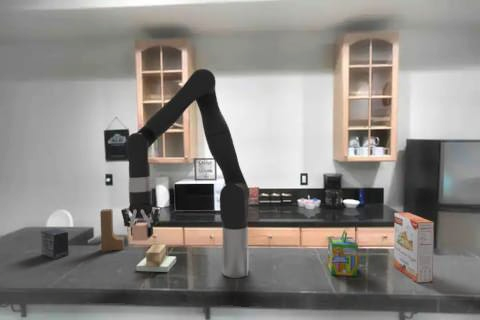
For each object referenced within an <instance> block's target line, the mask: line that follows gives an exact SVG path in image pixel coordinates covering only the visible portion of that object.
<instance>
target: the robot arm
mask: <svg viewBox="0 0 480 320" xmlns="http://www.w3.org/2000/svg"><path fill="white" fill-rule="evenodd" d="M216 83H217V82H216V76H215V75H214V73H213V72H212V71H211V70H209V69H207V68H199V69H196V70H195V71H194V72H192V74H191V75H190V76H189V77H188V79H187V81H185V83H184V84H183V86H182V87H181V88H180V89H179V90H178V91H177V92H176V93H175V94H174V96H173V97H172V98H171V99H170V100H168V101H167V102H166V103H165V104H164V105H163V106H162V107H161V108H160V109H159V110H158V111H156V112H155V113H154V114H153V115H152V116H151V117H150V118H149V119H148V120H147V121H146V123H145V124H144V125H143V126H141V128H140V129H139V130H138V131H137V132H134V133H133V132H132V133H131V134H129V136H128V137H127V139H126V153H127V154H126V155H127V160H128V199H129V206H128V207H124V208H122V209H121V211H120V212H121V216H122V218H123V223H124V225H125V226H128V227H130V236H131V237H132V226H133V225H135V224H137V223H138V220H139V219H143V220H144V223H147V226H148V228H147V230H148V238H149V239H150V238H151V237H152V236H154V226H156V225H158V224H159V221H160V214H161V212H162V211H161V209H162V208H160V207H154V206H153V203H152V202H153V200H152V181H151V172H150V163H149V148H150V147H151V146H152V145H153V144H154V143H155V142H156V141H157V140H158V139H159V138H160V137H161V136H163V135H164V134H165V133H166V132H167V131H168V130H169V129H171V127H172V126H174V124H176V122H177V121H178V120H179V119H180V117H181V116H183V114H184V113H185V111H186V110H187V109H188V108H189V107H190V106H191V105H192V104H193V103H194V102H196V105H197V107H198V109H199V112H200V116H201V121H202V128H203V132H204V137H205V140H206V144H207V146H208V150H209V153H210V154H211V156H212V158H213V159H214V161H215V163H216V164H217V166H218V168H219V169H220V171H221V174H222V176H223V181H224V186H223V187H222V188H221V190H220V193H219V213H220V215H219V217H220V220H221V222H222V223H221V224H222V225H221V226H222V227H221V228H222V232H221V234H222V274H223V275H224V276H225V277H227V278H232V279H238V278H244V277H248V275H249V269H250V268H249V267H250V266H249V263H250V262H249V239H248V238H249V233H248V232H249V223H248V222H249V221H248V217H247V216H246V203H247V202H248V201H249V199H250V188H249V186H248V184H247V181H246V179H245V177H244V174H243V172H242V169H241V166H240V163H239V159H238V155H237V151H236V148H235V144H234V141H233V137H232V134H231V131H230V128H229V126H228V123H227V121H226V120H225V117H224V115H223V114H222V111H221V110H220V106H219V101H218V97H217V92H216V85H217V84H216ZM130 213H131V217H130ZM151 213H153V219H152V215H151Z"/></svg>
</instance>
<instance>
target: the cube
mask: <svg viewBox="0 0 480 320" xmlns="http://www.w3.org/2000/svg"><path fill="white" fill-rule="evenodd" d="M147 228H148V226H147V223H146V222H137V223H136V224H135V225H133V226H132V236H131V238H132V239H131V240H132V242H135V241H136V242H139V241H143V242H144V241H145V242H146V241H148V240H149V239H150V238H148V230H147Z"/></svg>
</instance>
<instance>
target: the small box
mask: <svg viewBox="0 0 480 320" xmlns="http://www.w3.org/2000/svg"><path fill="white" fill-rule="evenodd" d="M40 233H41V256H43V257H46V258H49V259H51V260H58V259H60V258H64V257H68V256H69V255H70V254H69V231H66V230H63V229H61V228H60V229H59V228H52V229H47V230H41V232H40Z"/></svg>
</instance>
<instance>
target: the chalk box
mask: <svg viewBox="0 0 480 320" xmlns="http://www.w3.org/2000/svg"><path fill="white" fill-rule="evenodd" d="M358 249H359V244H358V242H357V241H356V240H355V239H354V237H348V232H347V231H346V230H343V231H342V234H341V236H333V235H332V236H330V235H329V236H328V237H327V267H328V270H329V271H330V274H331V276H347V277H348V276H349V277H358V257H359V256H358V255H359V250H358Z"/></svg>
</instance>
